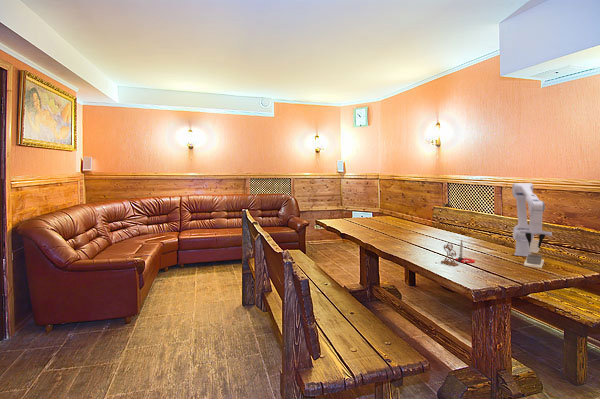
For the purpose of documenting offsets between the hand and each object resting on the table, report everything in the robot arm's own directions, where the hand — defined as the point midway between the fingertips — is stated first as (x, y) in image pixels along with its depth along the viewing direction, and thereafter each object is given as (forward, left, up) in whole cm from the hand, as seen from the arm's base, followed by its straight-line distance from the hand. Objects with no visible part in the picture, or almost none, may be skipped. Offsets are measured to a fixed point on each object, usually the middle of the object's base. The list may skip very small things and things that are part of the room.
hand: (534, 247), depth 180 cm
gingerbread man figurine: (+27, -37, -9) cm, 47 cm away
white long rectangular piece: (0, 0, -2) cm, 2 cm away
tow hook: (+16, -31, -10) cm, 36 cm away
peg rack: (0, 0, -9) cm, 9 cm away
